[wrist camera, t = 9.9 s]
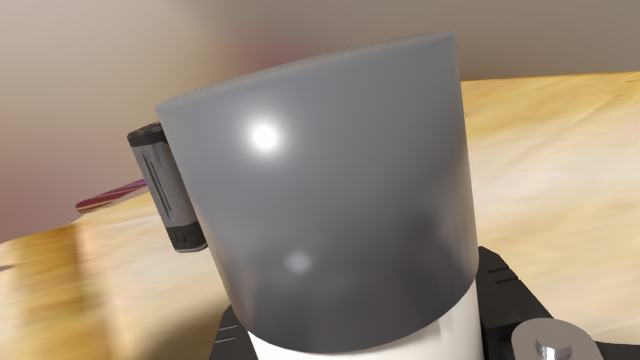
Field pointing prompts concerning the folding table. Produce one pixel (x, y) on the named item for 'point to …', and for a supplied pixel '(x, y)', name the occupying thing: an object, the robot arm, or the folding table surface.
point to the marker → (339, 201)
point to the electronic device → (167, 187)
